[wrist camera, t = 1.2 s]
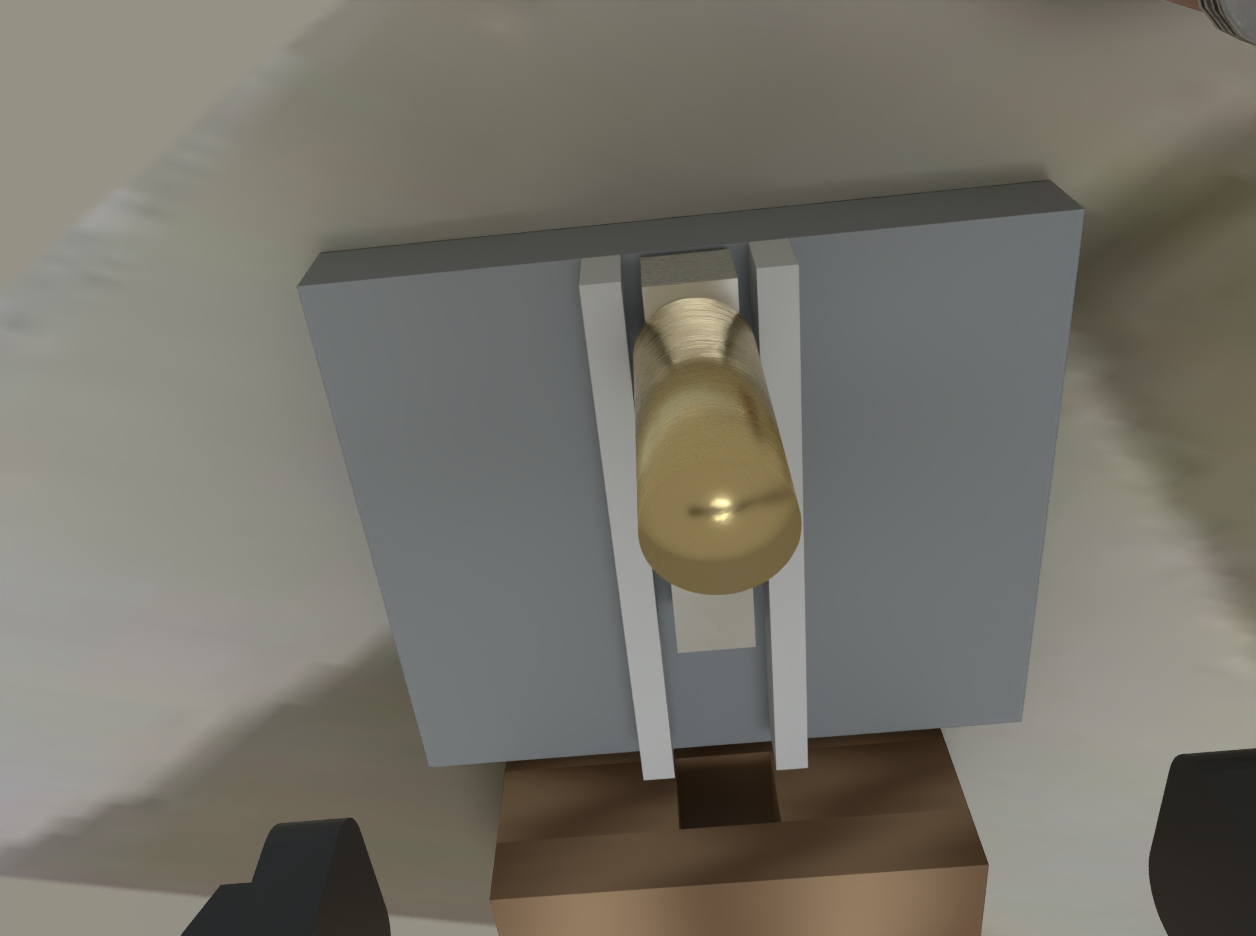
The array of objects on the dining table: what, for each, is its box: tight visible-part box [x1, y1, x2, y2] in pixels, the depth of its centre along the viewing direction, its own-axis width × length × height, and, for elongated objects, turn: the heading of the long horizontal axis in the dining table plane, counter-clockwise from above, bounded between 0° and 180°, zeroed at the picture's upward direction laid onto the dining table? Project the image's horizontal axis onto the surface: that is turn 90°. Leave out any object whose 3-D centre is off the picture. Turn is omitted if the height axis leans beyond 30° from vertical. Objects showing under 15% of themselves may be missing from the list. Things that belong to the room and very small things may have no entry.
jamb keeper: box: [490, 728, 989, 936], centre depth 29 cm, size 12×5×6 cm, turn 96°
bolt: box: [633, 249, 802, 653], centre depth 20 cm, size 2×9×8 cm, turn 6°
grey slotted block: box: [297, 180, 1085, 780], centre depth 25 cm, size 16×14×4 cm
